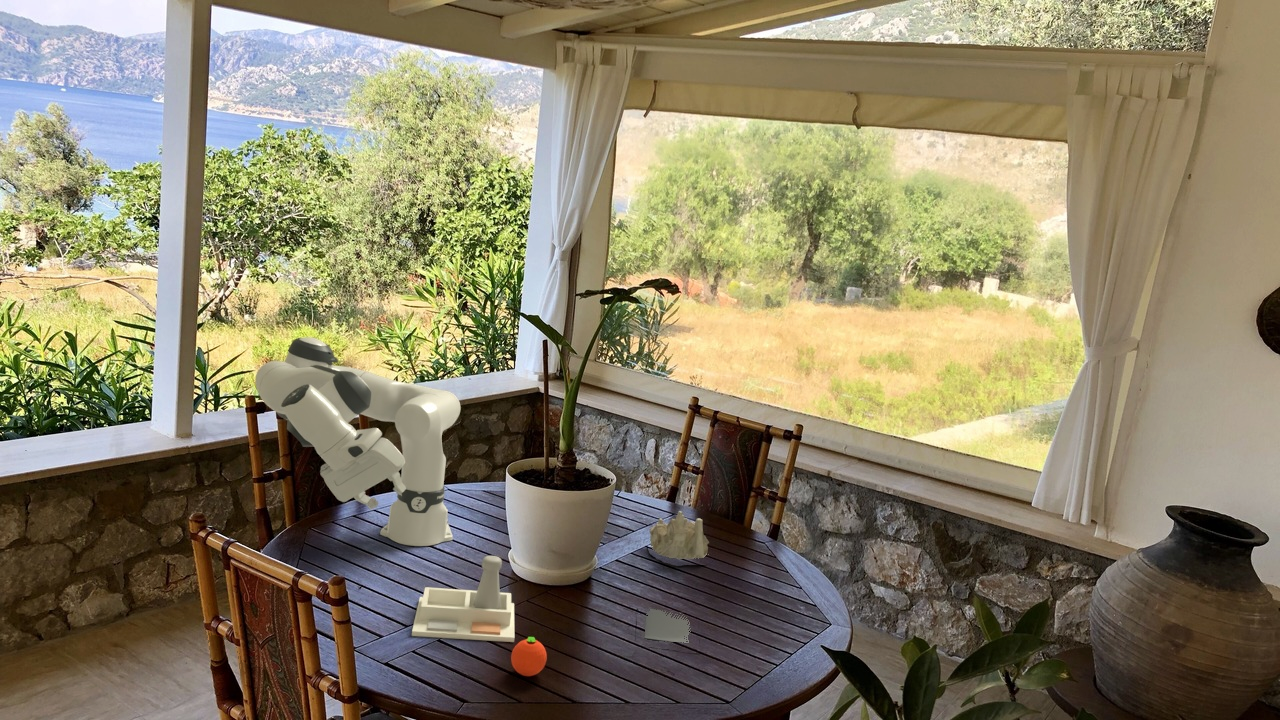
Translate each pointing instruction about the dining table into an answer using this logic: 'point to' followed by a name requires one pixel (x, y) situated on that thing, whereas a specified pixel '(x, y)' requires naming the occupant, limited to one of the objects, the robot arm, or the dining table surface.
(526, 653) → the clementine
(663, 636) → the wallet
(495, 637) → the divided organizer tray
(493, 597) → the salt shaker
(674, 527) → the sand castle
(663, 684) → the dining table surface
